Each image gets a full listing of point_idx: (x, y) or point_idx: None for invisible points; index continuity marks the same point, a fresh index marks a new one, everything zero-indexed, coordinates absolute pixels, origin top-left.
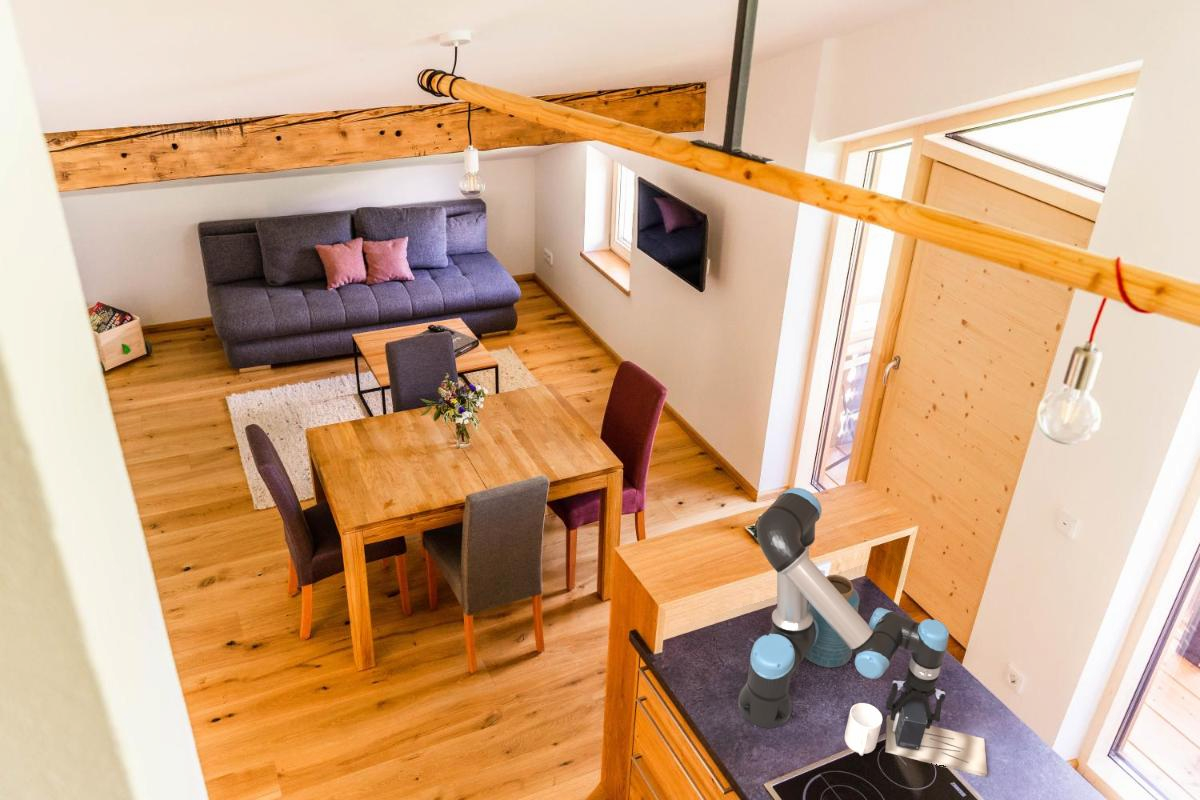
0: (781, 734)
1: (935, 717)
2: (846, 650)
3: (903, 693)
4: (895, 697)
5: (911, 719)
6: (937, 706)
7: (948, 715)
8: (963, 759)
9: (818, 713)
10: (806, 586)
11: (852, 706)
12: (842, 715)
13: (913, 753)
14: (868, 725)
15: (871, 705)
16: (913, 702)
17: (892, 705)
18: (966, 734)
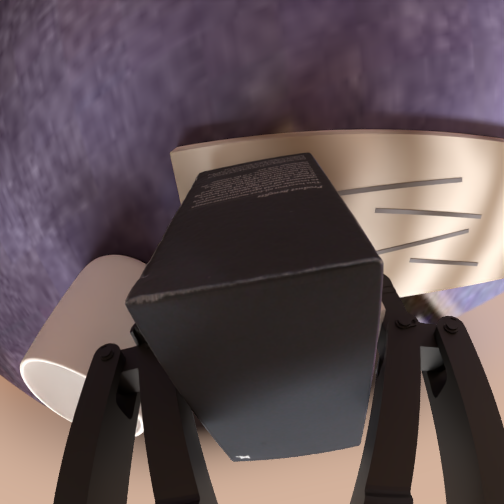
0: (5, 325)
1: (426, 388)
2: None
3: (158, 493)
4: (127, 492)
5: (272, 457)
6: (448, 479)
7: (438, 32)
8: (468, 258)
9: (5, 241)
10: None
11: (22, 376)
12: (44, 216)
13: None
14: (115, 283)
15: (58, 365)
16: (275, 386)
17: (137, 378)
18: (499, 142)
